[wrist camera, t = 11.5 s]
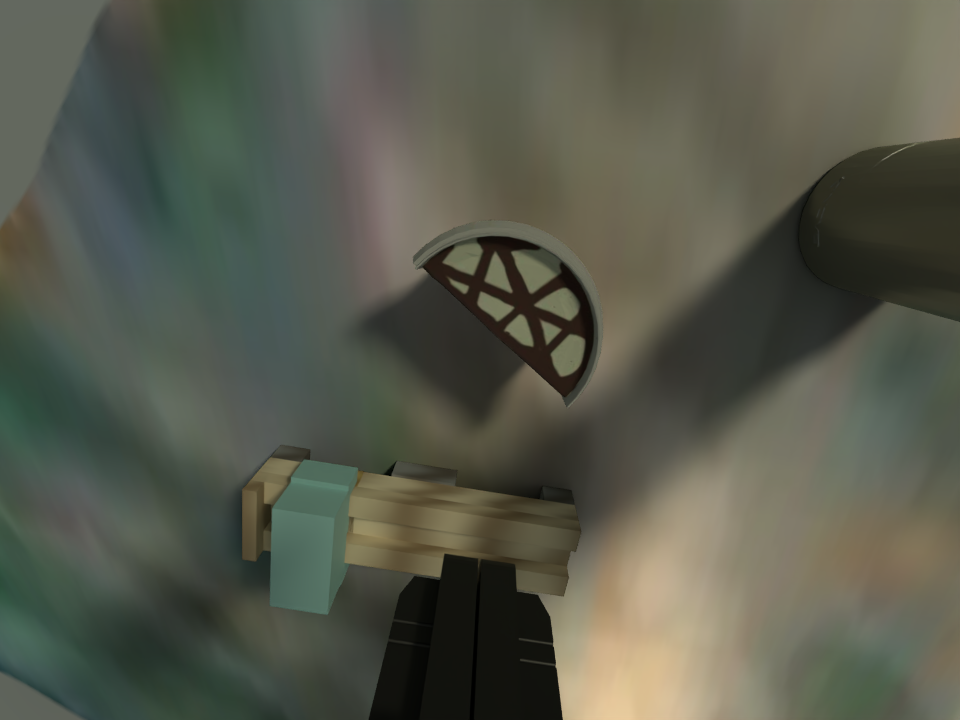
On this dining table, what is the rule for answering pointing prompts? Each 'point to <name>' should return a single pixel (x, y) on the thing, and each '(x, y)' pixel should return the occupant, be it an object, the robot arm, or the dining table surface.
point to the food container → (524, 296)
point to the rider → (311, 537)
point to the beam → (430, 522)
